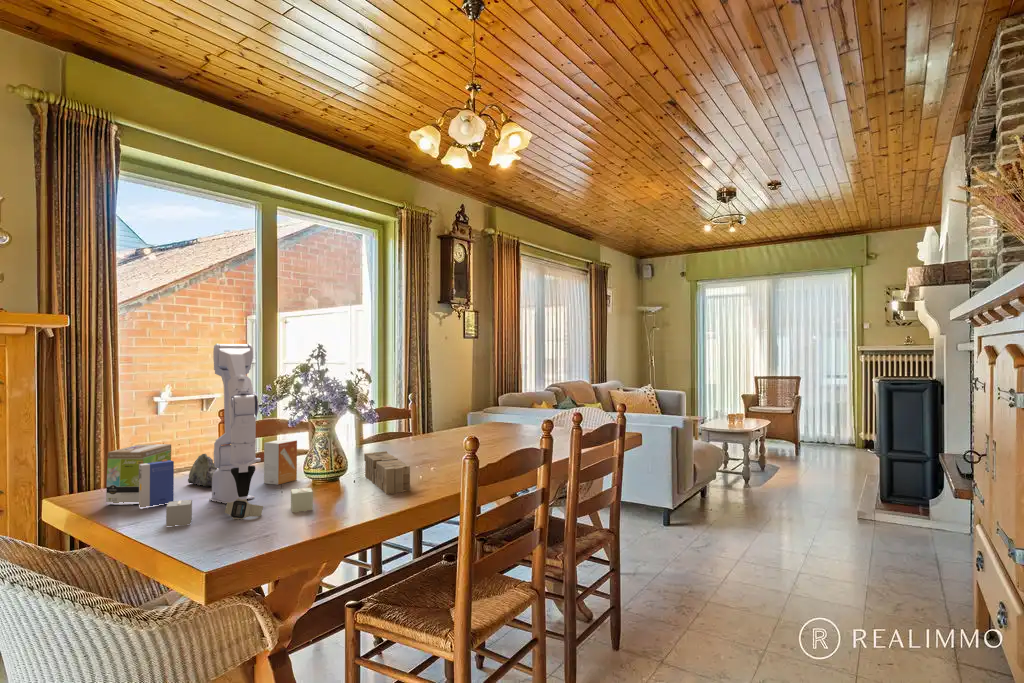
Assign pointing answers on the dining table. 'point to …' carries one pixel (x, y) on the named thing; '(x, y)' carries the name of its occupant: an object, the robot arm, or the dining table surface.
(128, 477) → the tea box
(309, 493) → the block marked 7
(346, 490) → the dining table surface
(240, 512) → the wristwatch
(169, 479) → the blue carton
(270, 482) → the small box
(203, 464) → the mineral rock
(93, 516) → the dining table surface
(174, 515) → the block marked 1
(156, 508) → the dining table surface
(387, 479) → the block tower
